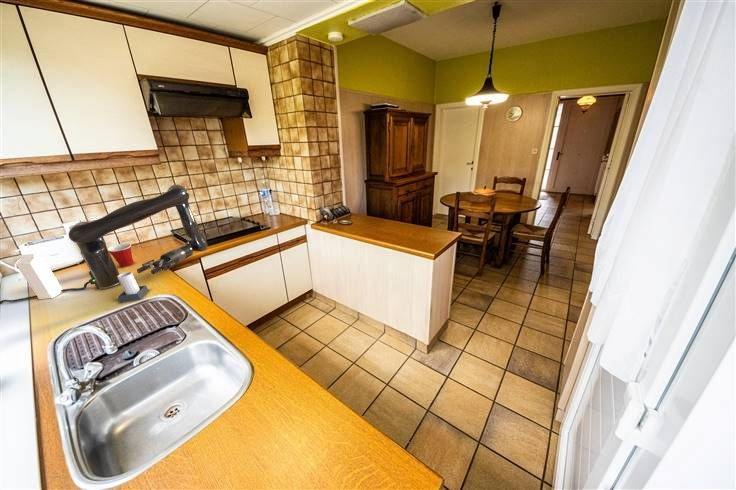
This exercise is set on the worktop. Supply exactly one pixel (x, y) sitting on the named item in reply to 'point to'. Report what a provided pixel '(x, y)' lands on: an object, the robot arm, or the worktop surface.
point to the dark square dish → (133, 295)
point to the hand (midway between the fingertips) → (144, 271)
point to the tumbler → (128, 283)
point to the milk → (39, 276)
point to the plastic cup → (122, 254)
